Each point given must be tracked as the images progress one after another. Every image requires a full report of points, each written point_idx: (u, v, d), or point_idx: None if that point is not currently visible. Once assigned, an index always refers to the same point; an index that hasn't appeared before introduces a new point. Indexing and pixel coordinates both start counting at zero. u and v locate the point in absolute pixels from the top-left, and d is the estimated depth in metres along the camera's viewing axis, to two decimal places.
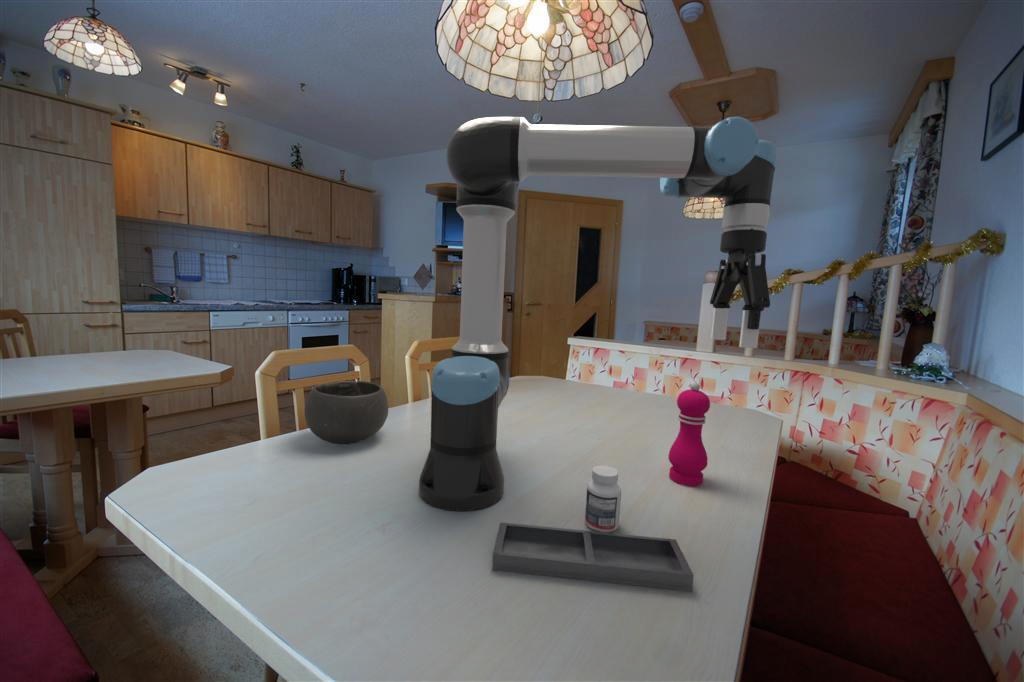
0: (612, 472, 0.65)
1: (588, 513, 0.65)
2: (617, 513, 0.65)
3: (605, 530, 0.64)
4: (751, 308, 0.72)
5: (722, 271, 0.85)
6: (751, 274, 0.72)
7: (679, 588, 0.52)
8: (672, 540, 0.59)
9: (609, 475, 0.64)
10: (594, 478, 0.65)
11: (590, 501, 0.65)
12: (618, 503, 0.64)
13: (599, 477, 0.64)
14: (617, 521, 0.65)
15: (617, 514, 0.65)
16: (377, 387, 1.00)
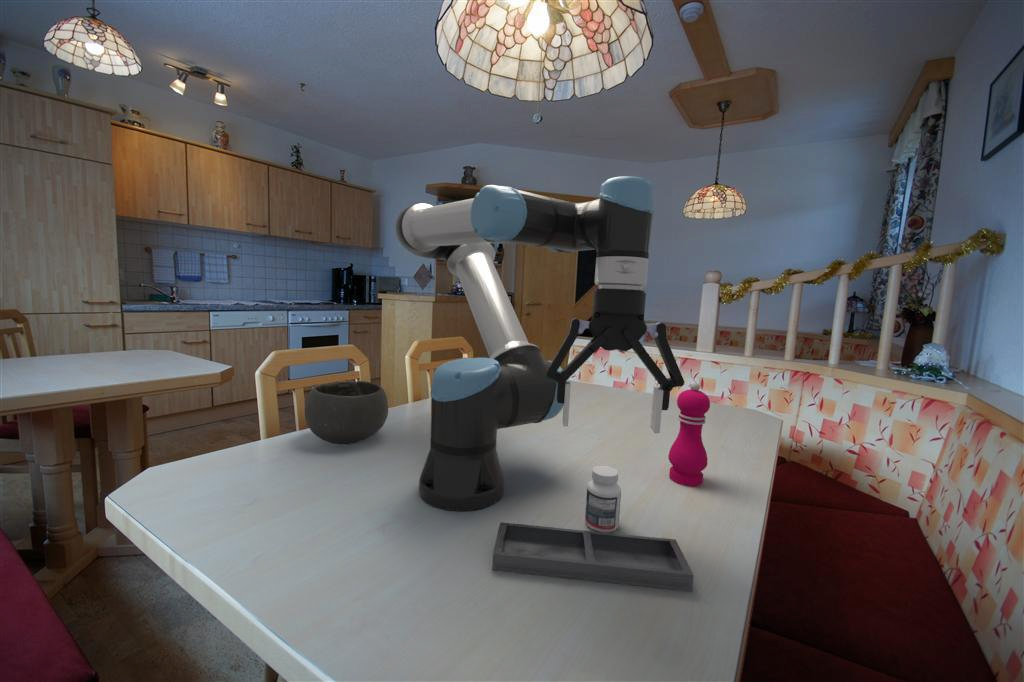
0: (612, 472, 0.65)
1: (588, 513, 0.65)
2: (617, 513, 0.65)
3: (605, 530, 0.64)
4: None
5: None
6: None
7: (679, 588, 0.52)
8: (672, 540, 0.59)
9: (609, 475, 0.64)
10: (594, 478, 0.65)
11: (590, 501, 0.65)
12: (618, 503, 0.64)
13: (599, 477, 0.64)
14: (617, 521, 0.65)
15: (617, 514, 0.65)
16: (377, 387, 1.00)
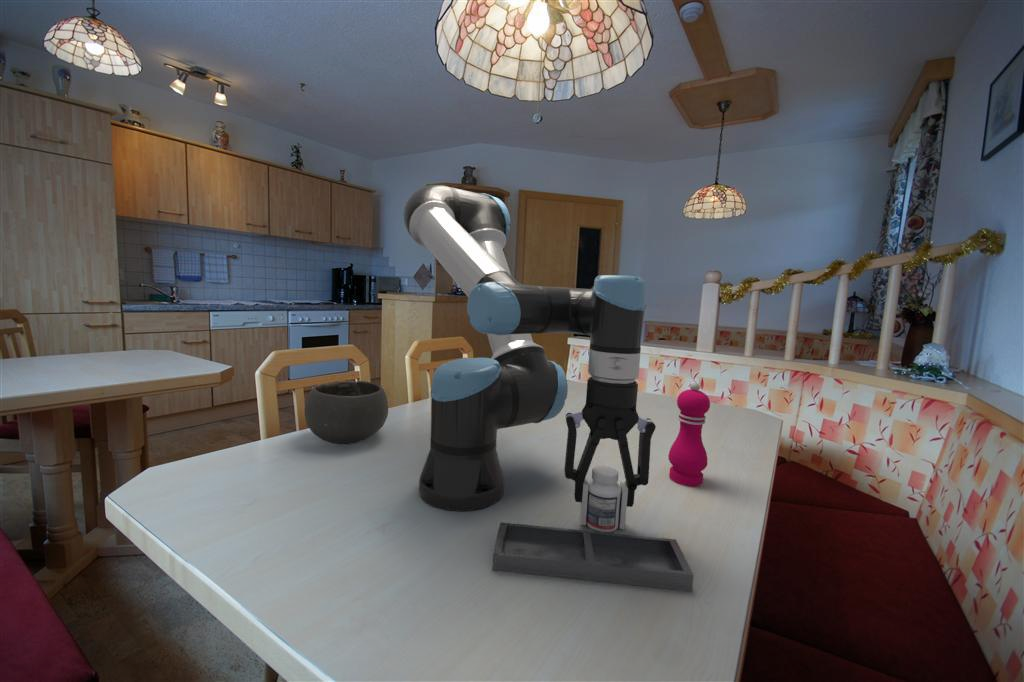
0: (612, 472, 0.65)
1: (588, 513, 0.65)
2: (617, 513, 0.65)
3: (605, 530, 0.64)
4: None
5: (640, 431, 0.65)
6: (567, 437, 0.67)
7: (679, 588, 0.52)
8: (672, 540, 0.59)
9: (609, 474, 0.64)
10: (594, 478, 0.65)
11: (590, 501, 0.65)
12: (618, 503, 0.64)
13: (599, 477, 0.64)
14: (617, 520, 0.65)
15: (617, 514, 0.65)
16: (377, 387, 1.00)
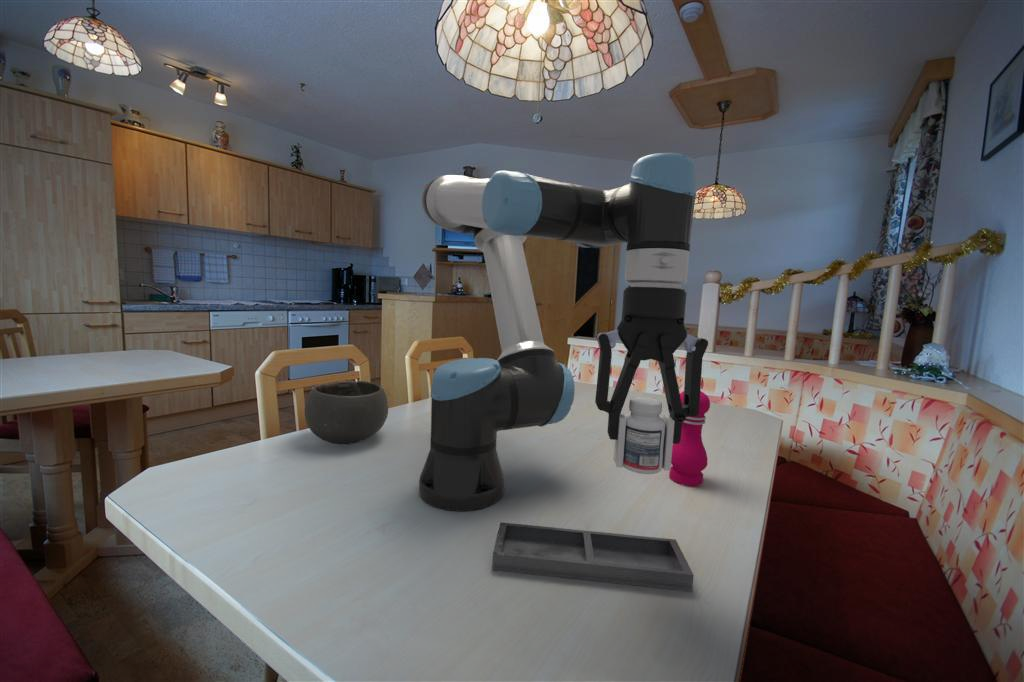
0: (655, 402, 0.54)
1: (626, 452, 0.54)
2: (661, 451, 0.53)
3: (647, 471, 0.53)
4: None
5: (687, 353, 0.54)
6: (599, 362, 0.55)
7: (679, 588, 0.52)
8: (672, 540, 0.59)
9: (651, 403, 0.53)
10: (633, 409, 0.53)
11: (628, 437, 0.53)
12: (662, 439, 0.53)
13: (640, 406, 0.53)
14: (661, 460, 0.54)
15: (661, 452, 0.53)
16: (377, 387, 1.00)
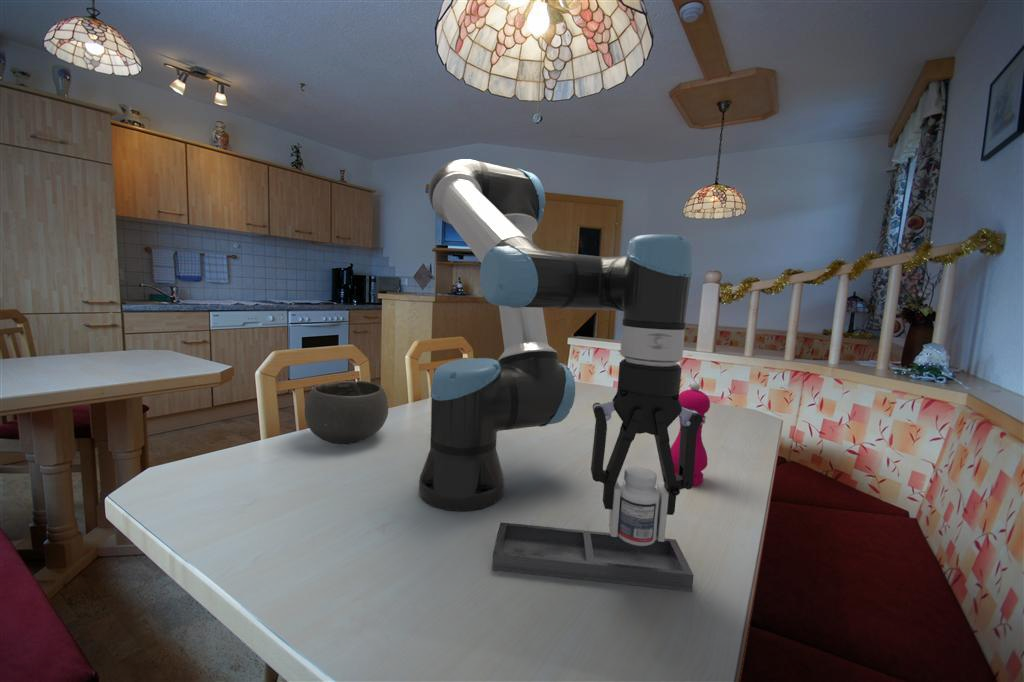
0: (649, 473, 0.54)
1: (620, 522, 0.55)
2: (655, 523, 0.54)
3: (641, 543, 0.53)
4: None
5: (682, 424, 0.55)
6: None
7: (679, 588, 0.52)
8: (672, 540, 0.59)
9: (646, 476, 0.53)
10: (628, 481, 0.54)
11: (623, 509, 0.54)
12: (657, 511, 0.54)
13: (635, 479, 0.53)
14: (656, 532, 0.54)
15: (655, 524, 0.54)
16: (377, 387, 1.00)
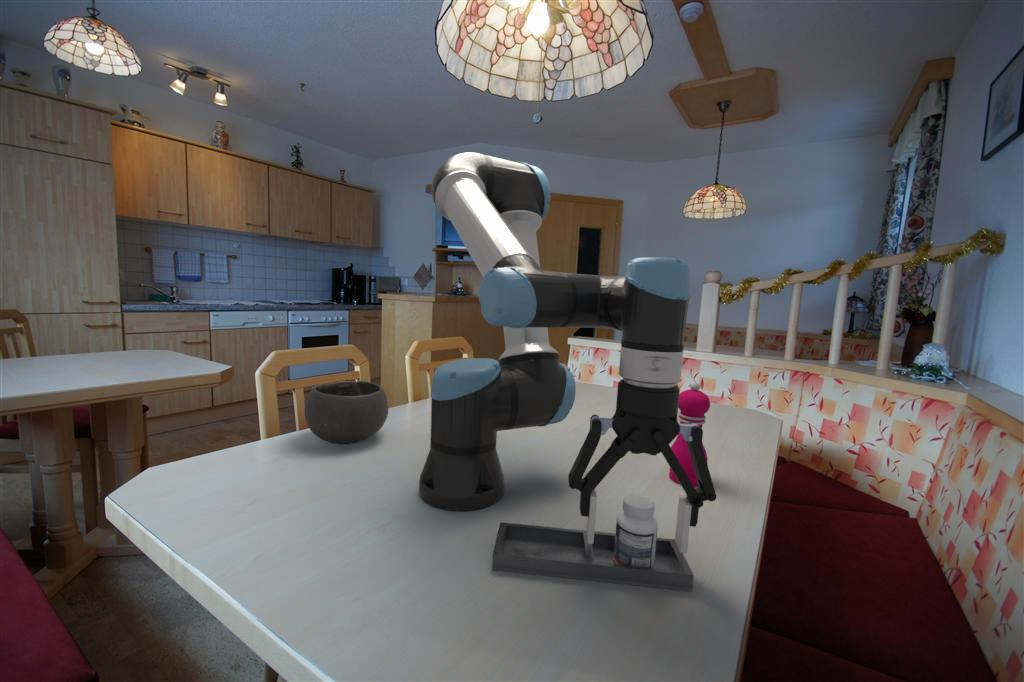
0: (647, 503, 0.55)
1: (618, 551, 0.55)
2: (653, 552, 0.54)
3: None
4: None
5: None
6: (584, 441, 0.56)
7: (679, 588, 0.52)
8: (672, 540, 0.59)
9: (644, 506, 0.54)
10: (626, 510, 0.55)
11: (621, 538, 0.55)
12: (654, 540, 0.54)
13: (633, 509, 0.54)
14: (653, 561, 0.55)
15: (653, 553, 0.54)
16: (377, 387, 1.00)
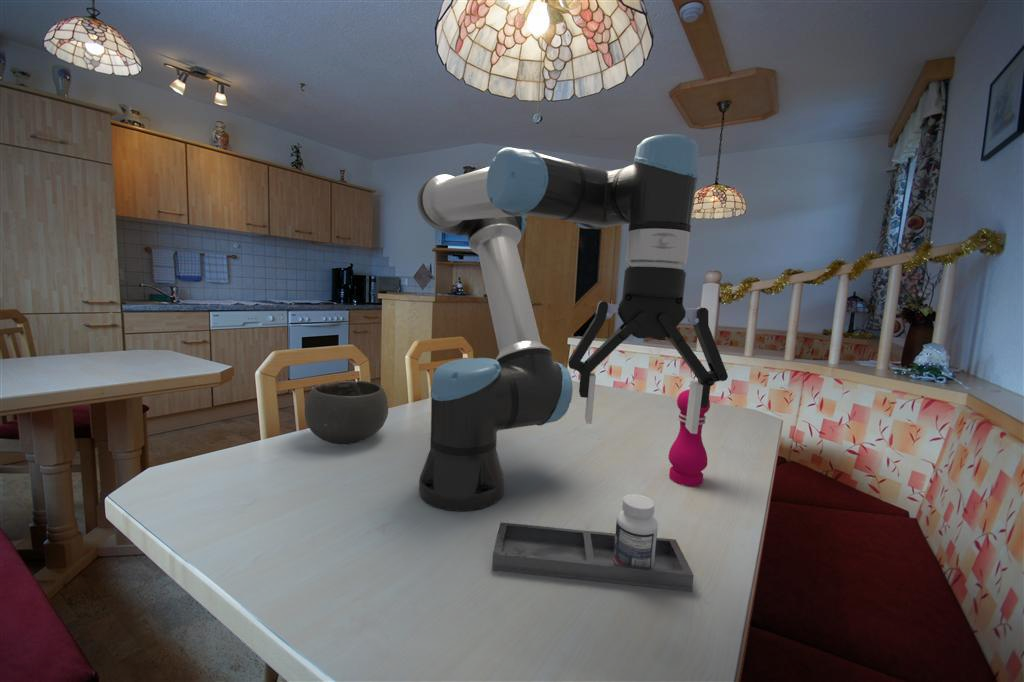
0: (647, 503, 0.55)
1: (618, 551, 0.55)
2: (653, 552, 0.54)
3: None
4: None
5: (693, 325, 0.55)
6: (588, 327, 0.57)
7: (679, 588, 0.52)
8: (672, 540, 0.59)
9: (644, 507, 0.54)
10: (626, 510, 0.54)
11: (621, 538, 0.55)
12: (654, 540, 0.54)
13: (633, 509, 0.54)
14: (653, 560, 0.55)
15: (653, 553, 0.54)
16: (377, 387, 1.00)
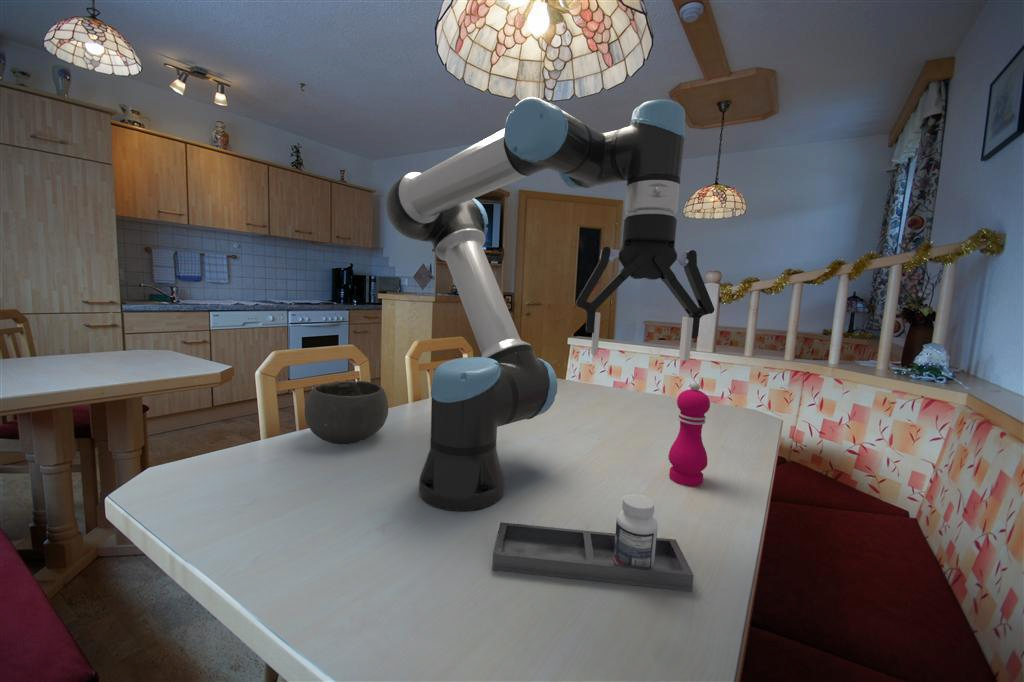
0: (647, 503, 0.55)
1: (618, 551, 0.55)
2: (653, 552, 0.54)
3: None
4: None
5: (684, 267, 0.64)
6: (593, 272, 0.66)
7: (679, 588, 0.52)
8: (672, 540, 0.59)
9: (644, 506, 0.54)
10: (626, 510, 0.55)
11: (621, 538, 0.55)
12: (654, 540, 0.54)
13: (633, 509, 0.54)
14: (653, 560, 0.55)
15: (653, 553, 0.54)
16: (377, 387, 1.00)
